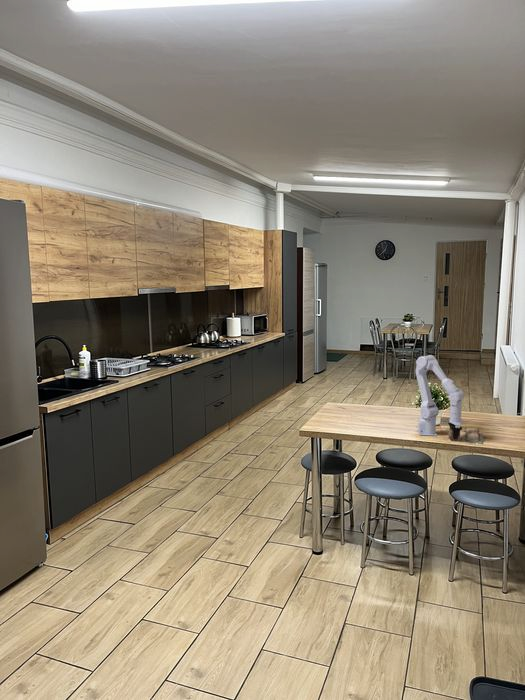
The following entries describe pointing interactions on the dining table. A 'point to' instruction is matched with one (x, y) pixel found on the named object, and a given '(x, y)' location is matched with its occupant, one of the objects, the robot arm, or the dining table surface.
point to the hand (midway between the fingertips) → (454, 437)
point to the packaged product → (473, 436)
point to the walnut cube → (452, 436)
